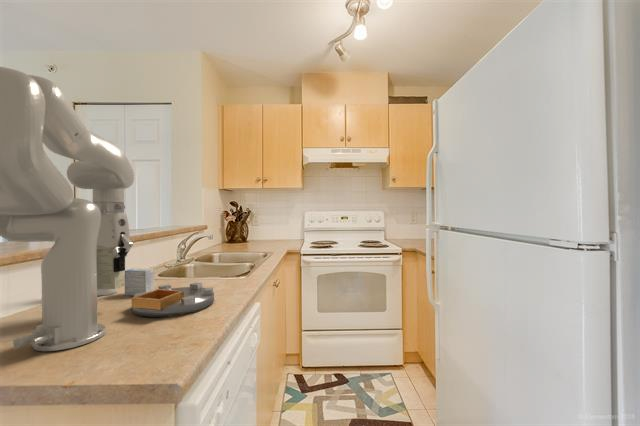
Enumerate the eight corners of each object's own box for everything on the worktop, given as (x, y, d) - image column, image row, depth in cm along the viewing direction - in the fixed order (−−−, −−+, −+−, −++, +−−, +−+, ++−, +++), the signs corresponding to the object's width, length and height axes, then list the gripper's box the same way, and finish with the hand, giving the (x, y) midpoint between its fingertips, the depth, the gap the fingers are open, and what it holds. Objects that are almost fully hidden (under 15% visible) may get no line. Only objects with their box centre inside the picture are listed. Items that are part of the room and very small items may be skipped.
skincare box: (124, 286, 88) (124, 245, 88) (114, 289, 84) (114, 246, 84) (102, 286, 88) (102, 245, 88) (91, 290, 83) (91, 246, 84)
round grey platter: (180, 320, 77) (180, 302, 77) (112, 313, 82) (112, 296, 82) (227, 295, 98) (227, 281, 98) (171, 291, 104) (171, 278, 104)
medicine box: (154, 292, 105) (154, 267, 105) (146, 296, 100) (145, 270, 100) (133, 292, 105) (133, 267, 105) (124, 295, 101) (123, 270, 101)
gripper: (144, 208, 88) (144, 269, 87) (97, 210, 92) (97, 268, 92) (121, 207, 81) (121, 274, 80) (72, 209, 85) (71, 272, 84)
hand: (108, 270), depth 86 cm, fingers closed on skincare box, 7 cm apart
